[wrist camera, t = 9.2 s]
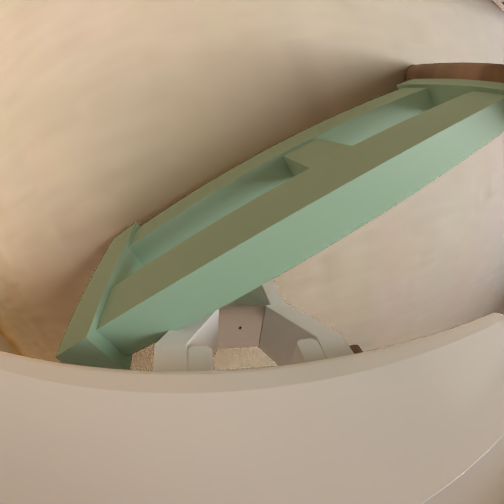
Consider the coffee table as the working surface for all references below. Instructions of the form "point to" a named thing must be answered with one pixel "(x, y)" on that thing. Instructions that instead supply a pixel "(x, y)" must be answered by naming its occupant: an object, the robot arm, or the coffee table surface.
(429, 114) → the gate
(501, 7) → the cutout
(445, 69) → the gate posts
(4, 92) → the coffee table surface
